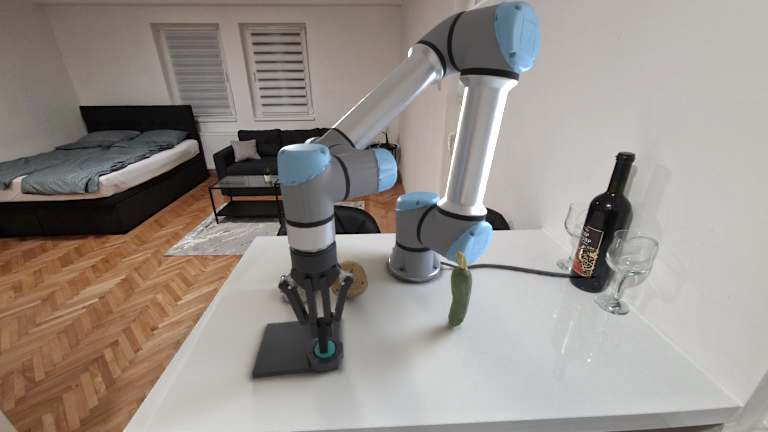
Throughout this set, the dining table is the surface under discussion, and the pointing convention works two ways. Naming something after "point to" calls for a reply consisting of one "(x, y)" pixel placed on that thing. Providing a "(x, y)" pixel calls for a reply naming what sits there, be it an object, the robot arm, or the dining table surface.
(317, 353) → the tare button
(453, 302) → the vegetable
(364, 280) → the natural sponge
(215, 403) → the dining table surface
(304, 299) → the grey rock
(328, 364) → the scale
